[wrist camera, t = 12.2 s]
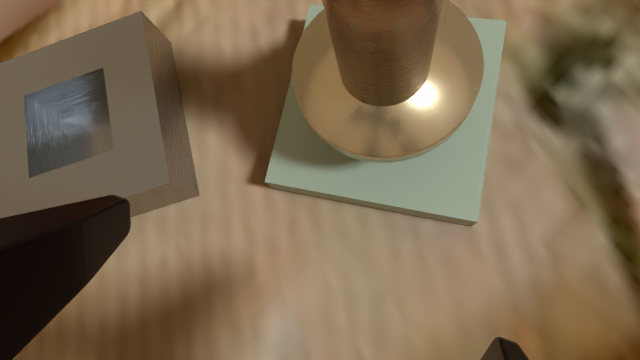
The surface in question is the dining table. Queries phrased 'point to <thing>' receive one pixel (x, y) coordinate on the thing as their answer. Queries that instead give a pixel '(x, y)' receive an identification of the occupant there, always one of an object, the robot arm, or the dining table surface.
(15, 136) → the bore block
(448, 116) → the metallic flared cylinder
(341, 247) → the dining table surface
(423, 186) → the pad
